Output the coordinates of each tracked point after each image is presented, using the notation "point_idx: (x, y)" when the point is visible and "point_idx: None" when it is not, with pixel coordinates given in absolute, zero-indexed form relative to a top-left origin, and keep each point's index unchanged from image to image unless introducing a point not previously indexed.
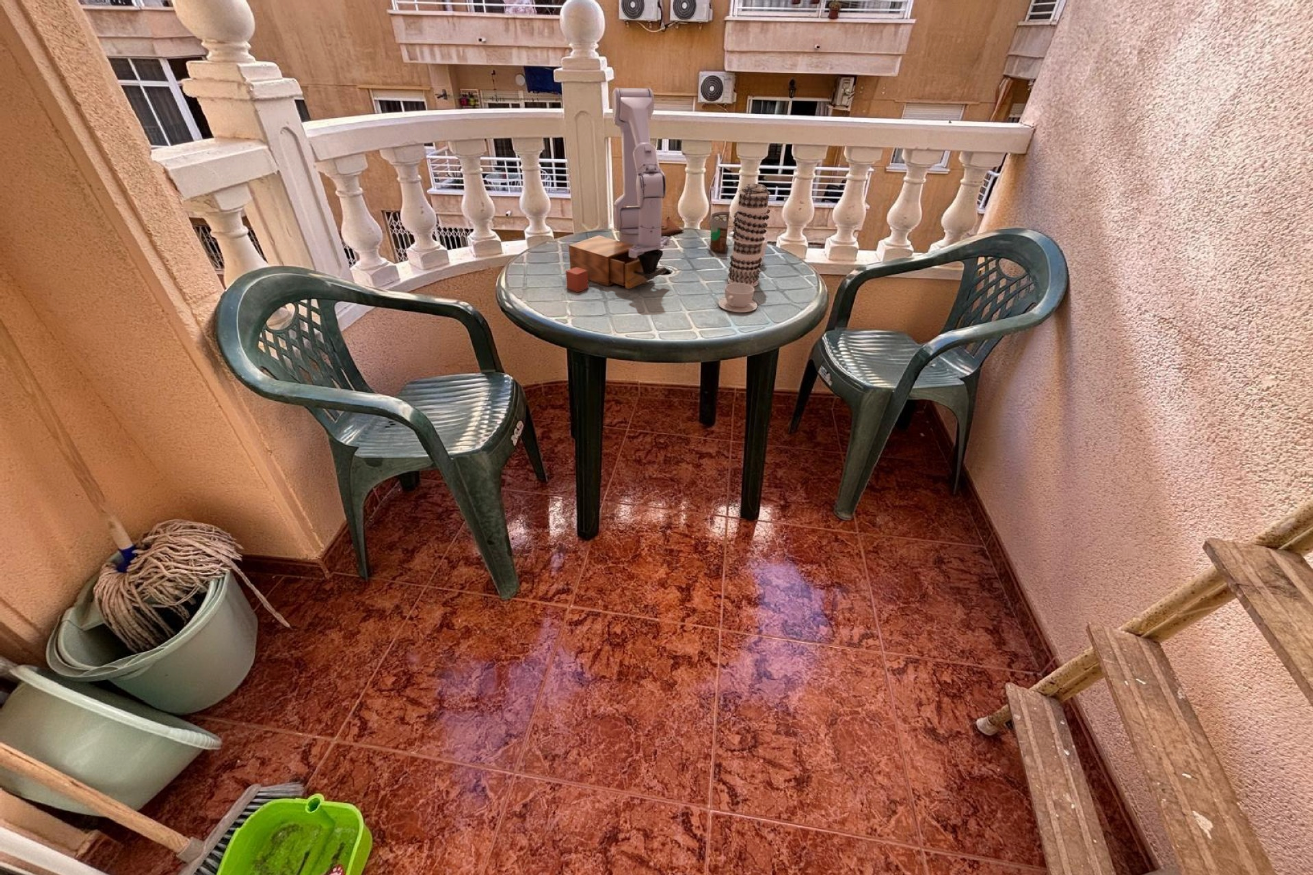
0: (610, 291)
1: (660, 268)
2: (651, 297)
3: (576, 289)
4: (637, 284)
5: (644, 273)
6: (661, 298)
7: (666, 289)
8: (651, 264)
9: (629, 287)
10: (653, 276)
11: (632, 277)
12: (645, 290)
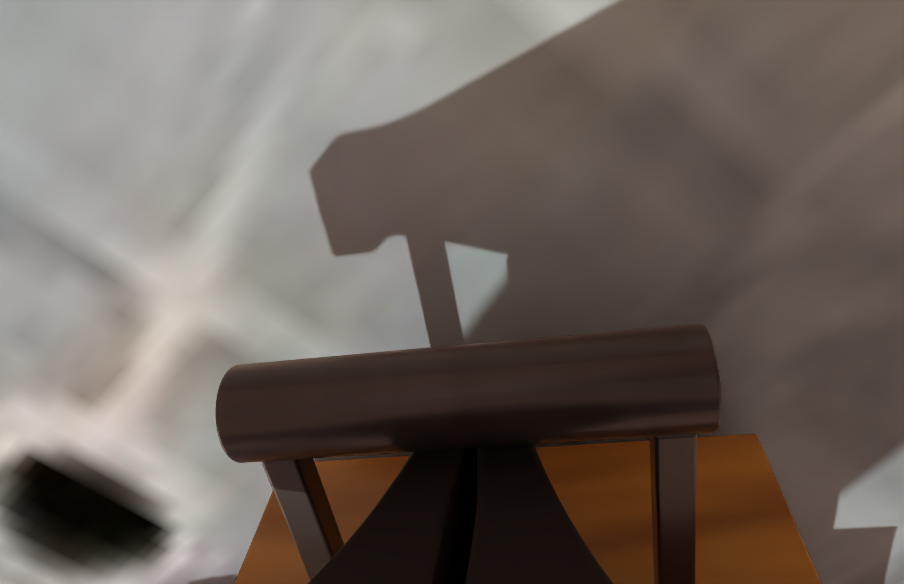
0: (852, 523)
1: (321, 445)
2: (685, 134)
3: None
4: (588, 451)
5: (660, 484)
6: (612, 9)
7: (329, 197)
8: (585, 563)
9: (746, 446)
10: (601, 338)
11: (715, 538)
12: (560, 332)
